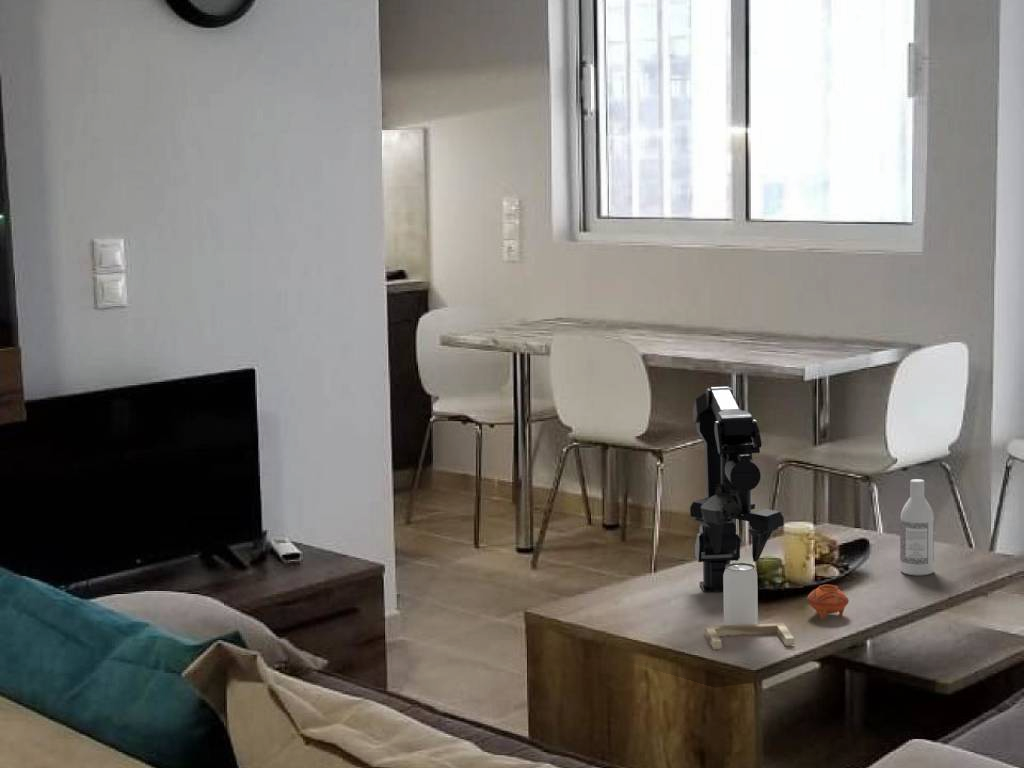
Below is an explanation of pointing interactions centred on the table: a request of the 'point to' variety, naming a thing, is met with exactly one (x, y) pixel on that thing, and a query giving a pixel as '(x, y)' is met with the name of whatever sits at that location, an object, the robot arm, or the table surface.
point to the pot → (827, 600)
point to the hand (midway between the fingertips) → (736, 557)
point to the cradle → (747, 632)
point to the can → (740, 594)
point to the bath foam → (917, 533)
